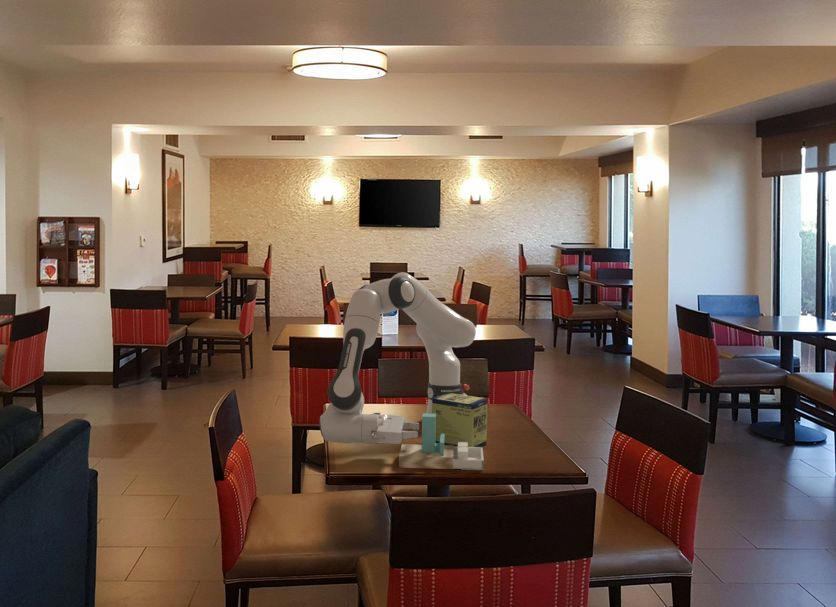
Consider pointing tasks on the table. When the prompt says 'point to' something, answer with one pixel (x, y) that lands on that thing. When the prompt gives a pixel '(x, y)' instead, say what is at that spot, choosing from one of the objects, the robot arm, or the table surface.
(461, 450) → the white small block
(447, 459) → the board
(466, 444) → the tile
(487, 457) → the table surface
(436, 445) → the teal uneven u-shaped block
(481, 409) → the protein box
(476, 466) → the tray
